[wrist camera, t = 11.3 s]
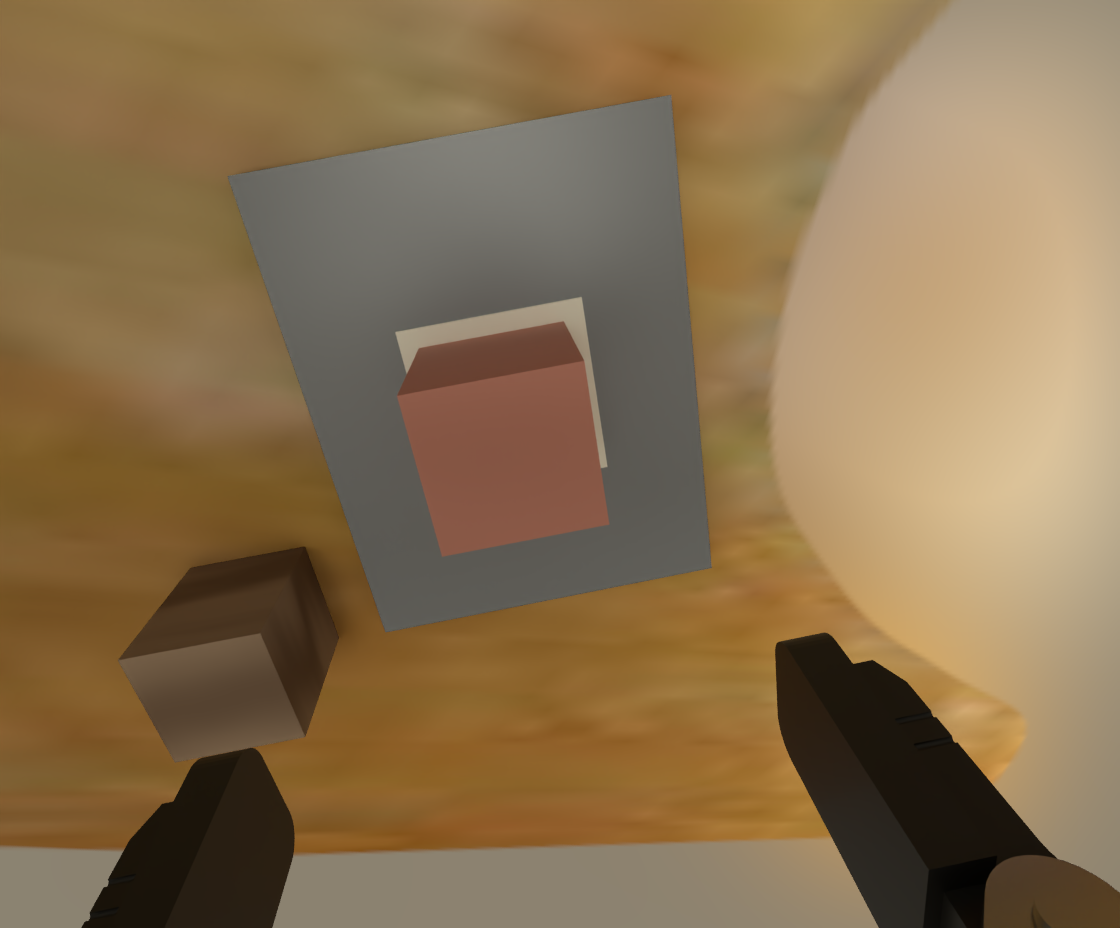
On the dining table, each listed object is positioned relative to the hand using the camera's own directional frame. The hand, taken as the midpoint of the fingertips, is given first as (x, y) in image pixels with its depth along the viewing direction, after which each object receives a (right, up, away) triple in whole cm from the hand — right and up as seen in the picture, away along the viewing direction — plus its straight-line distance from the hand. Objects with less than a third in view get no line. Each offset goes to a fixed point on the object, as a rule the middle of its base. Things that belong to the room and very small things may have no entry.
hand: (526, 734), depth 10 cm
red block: (-2, +7, +15) cm, 17 cm away
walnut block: (-13, -2, +19) cm, 23 cm away
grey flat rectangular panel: (-2, +7, +16) cm, 18 cm away
